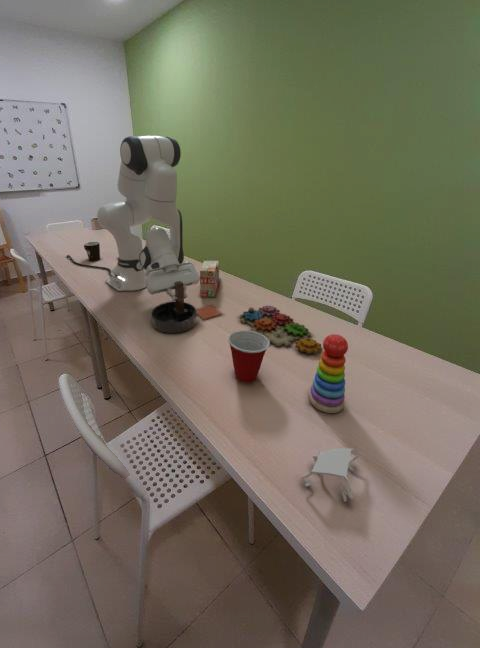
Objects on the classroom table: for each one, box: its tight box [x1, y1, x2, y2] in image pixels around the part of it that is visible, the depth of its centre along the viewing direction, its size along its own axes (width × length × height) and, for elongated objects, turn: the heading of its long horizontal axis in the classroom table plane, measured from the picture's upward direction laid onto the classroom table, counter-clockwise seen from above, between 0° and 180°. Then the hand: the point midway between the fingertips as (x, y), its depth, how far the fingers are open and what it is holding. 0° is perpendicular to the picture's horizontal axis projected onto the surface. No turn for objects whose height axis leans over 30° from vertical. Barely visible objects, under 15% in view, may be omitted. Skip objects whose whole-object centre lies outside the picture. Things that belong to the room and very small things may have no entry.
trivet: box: [195, 304, 222, 321], centre depth 116 cm, size 8×8×1 cm
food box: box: [199, 260, 220, 298], centre depth 136 cm, size 21×6×12 cm, turn 170°
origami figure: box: [299, 447, 360, 503], centre depth 55 cm, size 12×8×5 cm
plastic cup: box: [227, 329, 271, 384], centre depth 80 cm, size 11×11×12 cm
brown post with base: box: [173, 281, 188, 321], centre depth 109 cm, size 5×4×14 cm
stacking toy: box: [308, 333, 349, 414], centre depth 69 cm, size 8×8×19 cm
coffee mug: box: [83, 241, 101, 262], centre depth 181 cm, size 12×9×10 cm
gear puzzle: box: [239, 304, 323, 355], centre depth 101 cm, size 31×16×4 cm, turn 25°
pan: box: [150, 301, 198, 334], centre depth 109 cm, size 16×16×4 cm
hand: (180, 298), depth 109 cm, fingers closed on brown post with base, 2 cm apart
